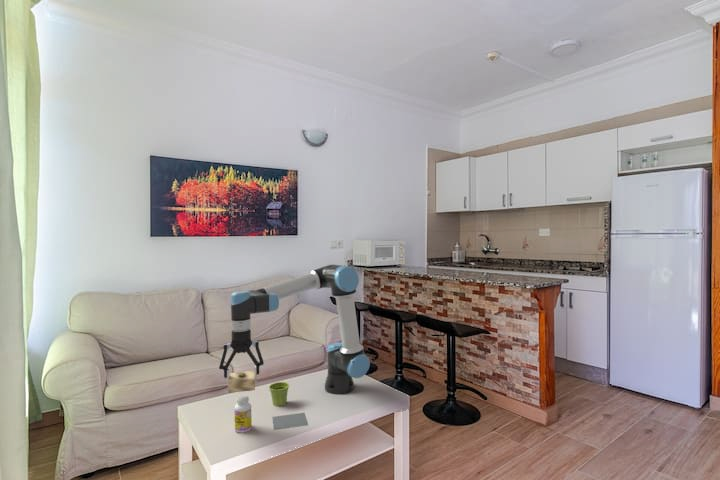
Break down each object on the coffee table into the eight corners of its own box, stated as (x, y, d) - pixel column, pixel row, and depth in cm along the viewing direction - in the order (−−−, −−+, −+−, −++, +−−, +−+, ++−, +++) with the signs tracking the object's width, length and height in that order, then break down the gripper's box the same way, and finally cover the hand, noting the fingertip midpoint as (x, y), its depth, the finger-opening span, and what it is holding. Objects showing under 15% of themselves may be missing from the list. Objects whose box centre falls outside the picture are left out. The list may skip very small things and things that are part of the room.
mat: (304, 413, 176) (304, 412, 176) (308, 425, 165) (308, 424, 165) (272, 417, 172) (272, 416, 172) (273, 430, 161) (273, 429, 161)
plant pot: (285, 409, 180) (284, 390, 180) (265, 407, 182) (265, 389, 182) (292, 400, 190) (292, 382, 190) (274, 399, 192) (273, 381, 191)
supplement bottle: (231, 431, 161) (230, 400, 160) (241, 424, 167) (241, 394, 167) (245, 434, 158) (244, 402, 158) (255, 426, 164) (254, 396, 164)
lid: (254, 381, 168) (254, 368, 168) (254, 390, 159) (254, 376, 159) (230, 383, 166) (229, 371, 166) (228, 393, 156) (228, 379, 156)
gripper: (210, 334, 155) (211, 390, 155) (269, 329, 161) (270, 383, 161) (212, 329, 162) (213, 383, 163) (269, 325, 168) (269, 377, 169)
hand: (242, 383), depth 162 cm, fingers closed on lid, 10 cm apart
